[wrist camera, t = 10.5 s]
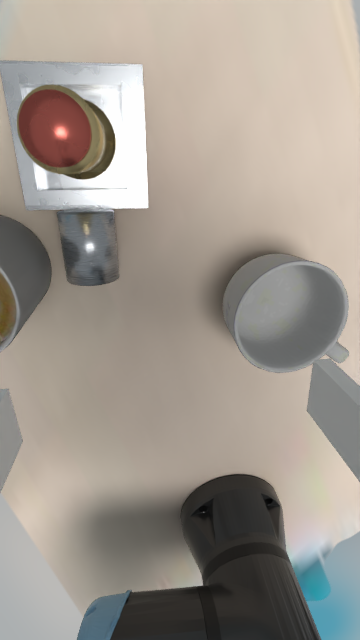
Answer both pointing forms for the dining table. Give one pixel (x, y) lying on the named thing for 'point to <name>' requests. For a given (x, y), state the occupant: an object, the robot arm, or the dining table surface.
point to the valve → (65, 132)
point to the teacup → (286, 312)
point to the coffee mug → (20, 277)
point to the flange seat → (96, 193)
